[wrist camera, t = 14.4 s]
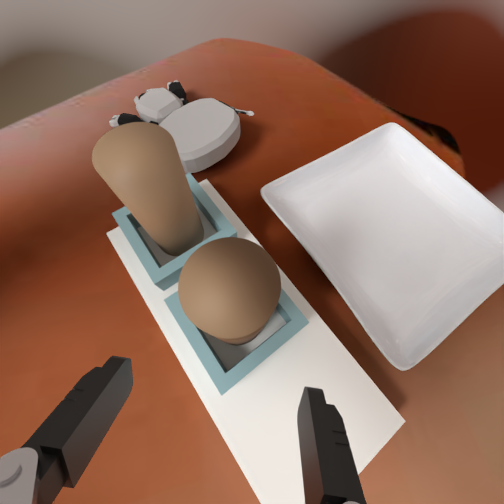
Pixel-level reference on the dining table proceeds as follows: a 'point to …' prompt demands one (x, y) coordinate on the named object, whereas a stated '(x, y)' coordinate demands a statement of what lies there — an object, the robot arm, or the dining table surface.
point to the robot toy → (189, 124)
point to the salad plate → (395, 238)
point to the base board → (216, 351)
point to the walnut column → (230, 289)
